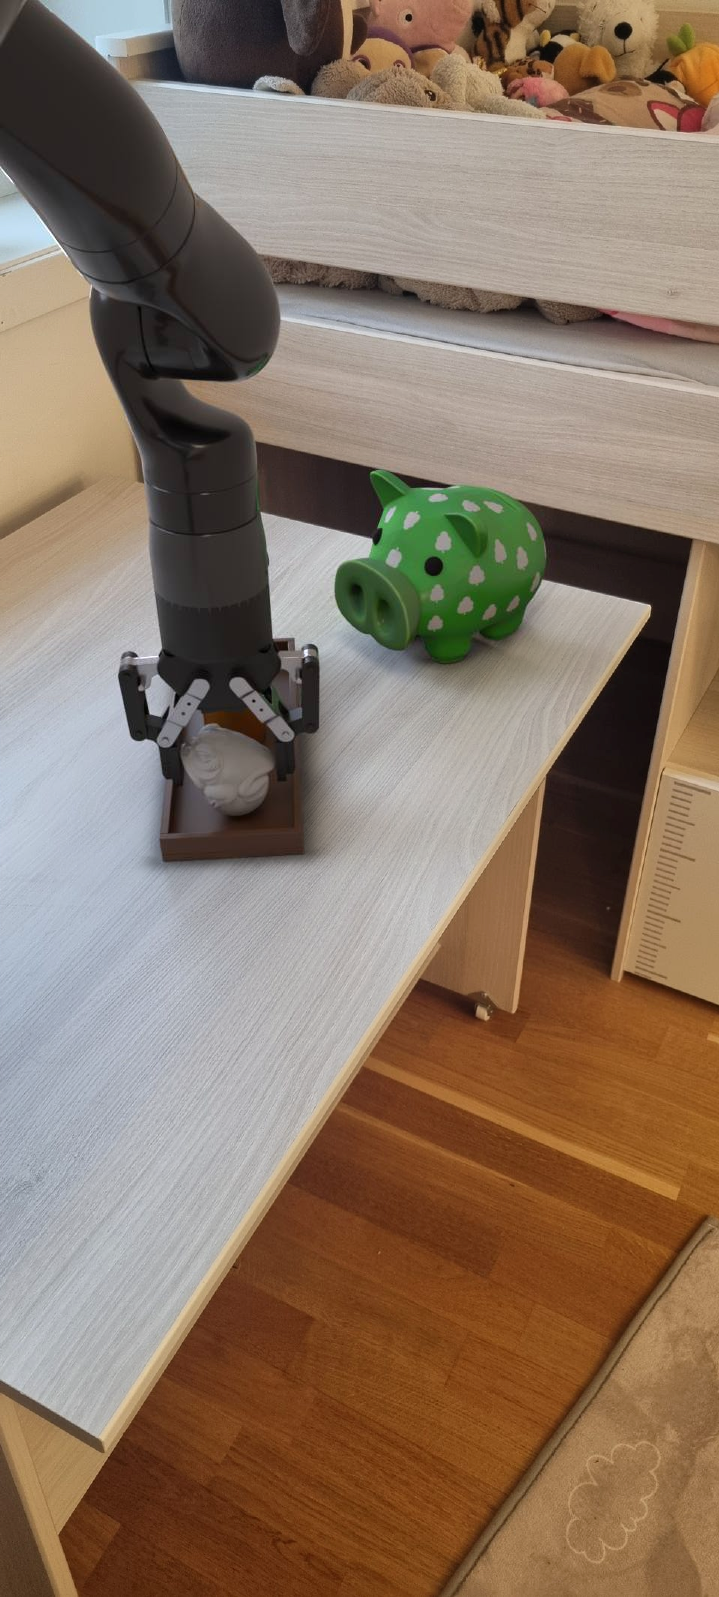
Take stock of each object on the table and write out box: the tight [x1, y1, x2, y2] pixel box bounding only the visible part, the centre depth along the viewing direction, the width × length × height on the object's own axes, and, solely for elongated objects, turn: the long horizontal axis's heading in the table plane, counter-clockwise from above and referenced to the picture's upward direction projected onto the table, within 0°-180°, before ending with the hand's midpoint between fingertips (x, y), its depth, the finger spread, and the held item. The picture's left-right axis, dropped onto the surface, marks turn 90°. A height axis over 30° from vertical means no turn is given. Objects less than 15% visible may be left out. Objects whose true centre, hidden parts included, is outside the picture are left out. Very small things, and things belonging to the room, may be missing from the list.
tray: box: [158, 637, 305, 862], centre depth 96 cm, size 27×10×2 cm, turn 4°
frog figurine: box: [180, 724, 276, 816], centre depth 88 cm, size 6×7×7 cm
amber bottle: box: [203, 707, 267, 744], centre depth 94 cm, size 5×5×12 cm
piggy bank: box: [333, 469, 547, 664], centre depth 106 cm, size 14×18×15 cm
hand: (230, 777), depth 88 cm, fingers closed on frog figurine, 7 cm apart
